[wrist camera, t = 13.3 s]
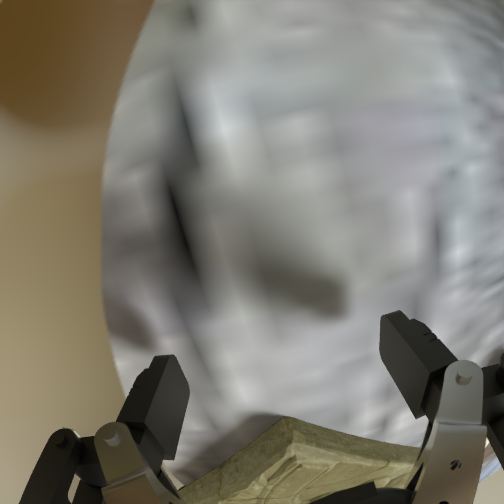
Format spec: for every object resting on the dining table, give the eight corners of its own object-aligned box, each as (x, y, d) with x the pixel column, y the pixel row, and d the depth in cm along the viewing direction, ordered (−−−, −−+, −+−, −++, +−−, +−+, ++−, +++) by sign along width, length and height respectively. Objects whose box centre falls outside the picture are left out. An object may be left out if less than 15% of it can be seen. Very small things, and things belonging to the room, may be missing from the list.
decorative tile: (287, 406, 13) (294, 457, 10) (439, 445, 16) (451, 468, 13) (166, 490, 18) (160, 516, 14) (315, 517, 21) (318, 537, 18)
